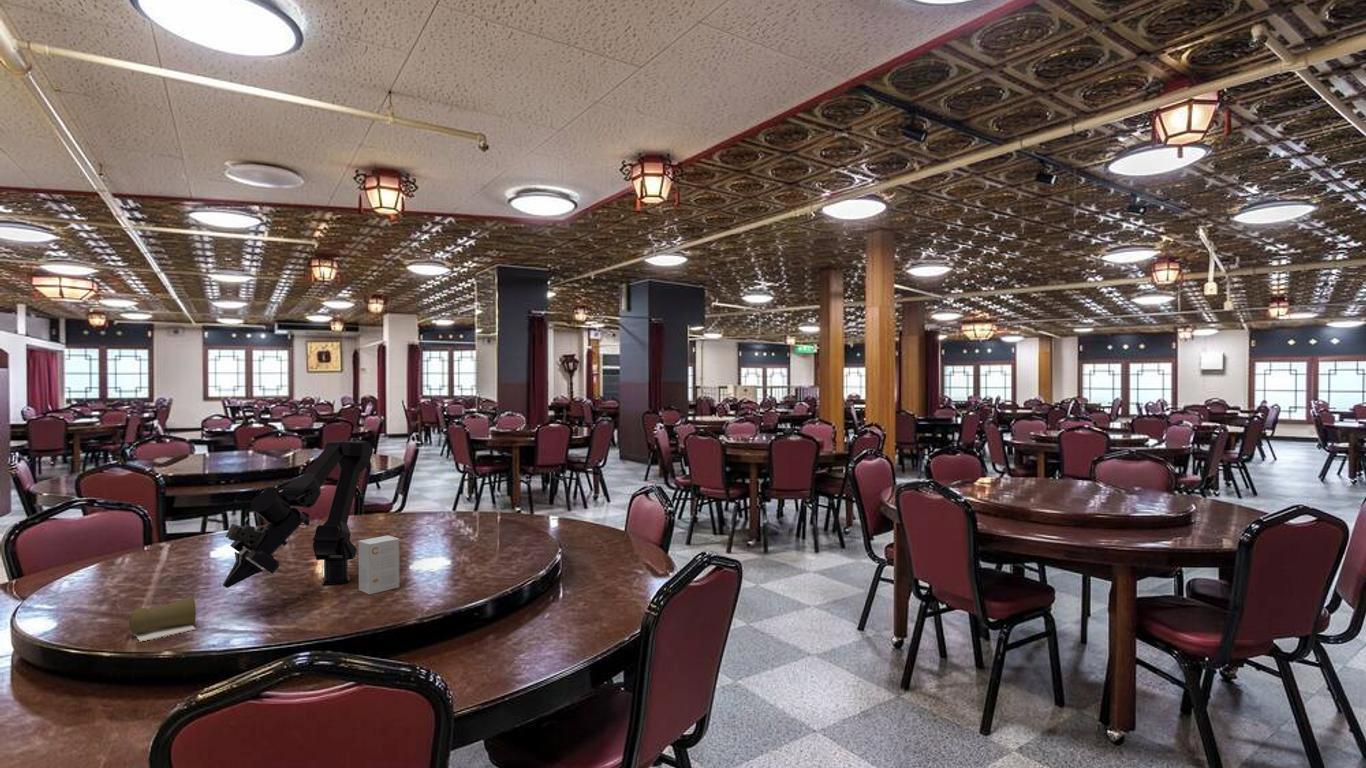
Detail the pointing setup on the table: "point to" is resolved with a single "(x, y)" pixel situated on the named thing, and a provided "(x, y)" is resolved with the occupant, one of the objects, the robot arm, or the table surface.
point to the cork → (163, 616)
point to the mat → (163, 632)
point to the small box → (378, 564)
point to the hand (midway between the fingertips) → (224, 586)
